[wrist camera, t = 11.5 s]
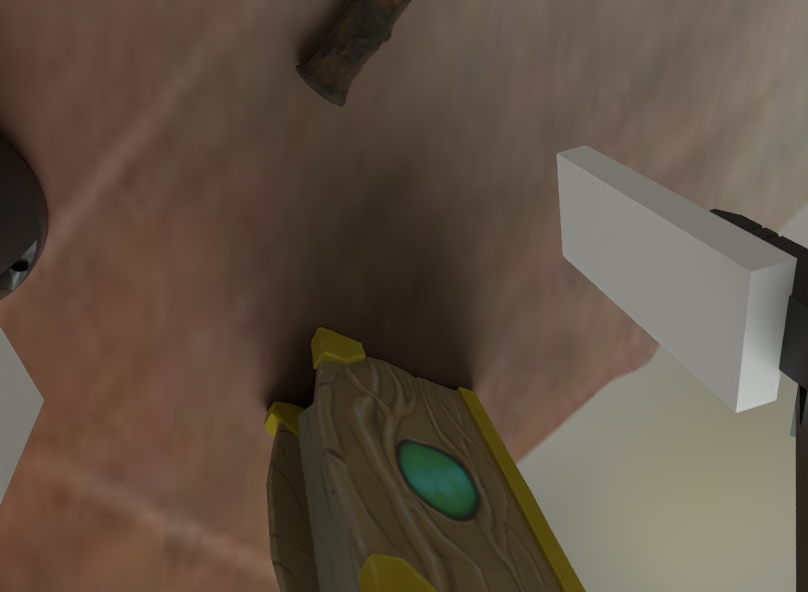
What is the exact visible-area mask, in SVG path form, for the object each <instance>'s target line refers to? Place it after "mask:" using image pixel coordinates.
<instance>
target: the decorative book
mask: <svg viewBox="0 0 808 592" xmlns="http://www.w3.org/2000/svg"><path fill="white" fill-rule="evenodd" d="M311 348H312V355H313V368H314V369H316V370H317V373H316V383H315V393H314V402H313V404H312V405H311V406H309V407H308V408H307V409H304V408H301V407H299V406H296V405H293V404H289V403H283V402H274V403H273V404H272V406H271V407H270V409H269V410H268V412H267V414H266V418H265V422H264V426H263V427H264V428H265V429H266V430H267V431H268V432H269V433H270V434H271V435H272V436H273V437H275V439H274V443H273V448H272V453H271V459H270V465H269V471H268V477H267V483H266V488H267V503H268V518H269V534H270V549H271V559H272V563H273V566H274V570H275V574H276V577H277V581H278V585H279V588H280V592H586V591H585V590H584V588H583V586H582V584H581V582H580V581H579V579H578V577H577V575H576V573H575V572H574V570H573V568H572V566H571V564H570V563H569V561H568V559H567V557H566V556H565V554H564V552H563V550H562V548H561V546H560V545H559V543H558V541H557V539H556V538H555V536H554V534H553V532H552V531H551V529H550V527H549V525H548V523H547V521H546V519H545V517H544V515H543V513H542V511H541V510H540V508H539V506H538V504H537V502H536V500H535V498H534V496H533V494H532V492H531V491H530V489H529V487H528V485H527V484H526V482H525V480H524V479H523V477H522V475H521V474H520V472H519V470H518V468H517V467H516V465H515V463H514V461H513V460H512V458H511V456H510V454H509V452H508V451H507V449H506V447H505V445H504V443H503V442H502V440H501V438H500V436H499V434H498V433H497V431H496V429H495V427H494V426H493V424H492V422H491V420H490V418H489V417H488V415H487V413H486V411H485V410H484V408H483V406H482V404H481V402H480V401H479V399H478V397H477V395H476V394H475V393H474V392H472V391H471V390H468V389H465V388H462V387H458V389H457V390H456V391H455V390H452V389H449V388H446V387H443V386H441V385H438V384H436V383H433V382H430V381H428V380H425V379H423V378H420V377H417V378H414V377H413V376H412V375H410V374H409V373H408V372H407V371H404V370H402V369H400V368H398V367H396V366H394V365H392V364H389V363H387V362H385V361H383V360H379V359H375V358H371V357H367V356H365V352H364V349H363V347H362V344H361V343H360V342H358V341H355V340H353V339H350V338H348V337H345V336H343V335H340V334H338V333H336V332H333V331H331V330H328V329H325V328H323V327H319V328H317V329H316V332H315V334H314V337H313V339H312V341H311Z"/></svg>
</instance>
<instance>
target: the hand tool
mask: <svg viewBox="0 0 808 592" xmlns="http://www.w3.org/2000/svg"><path fill="white" fill-rule="evenodd" d="M410 2H411V0H354V1H353V2H352V4H351V6H350V7H349V8H348V9H347V10H346V11H345V12H344V13H343V15H342V16H341V17H340V19H339V20H338V22H337V24H336V26H335V27H334V28H333V29H332V31H331V32H330V34H329V37H328V38H327V39H326V40H325V42H324V43H323V44H322V46H321V47H320V48H319V50H318V51H317V52H316V53H315V54H314V56H313V57H312V58H311V60H309V61H308V62H307V63H305V64H302V65H297V66H296V69H297V71H298V73H299V74H300V76H301V77H302V78H303V80H304V81H305V82H306V83H307V84H308V85H309V86H310V87H311V88H312V89H313V90H315V91H316V92H317V93H318V94H319V95H321V96H322V97H323V98H324V99H326V100H328V101H330V102H331V103H333V104H336V105H338V106H340V107H342V106H344V104H345V100H346V95H347V93H348V89H349V87H350V85H351V82H352V80H353V79H354V78H355V76H356V75H357V74H358V73H359V71H360V70H361V69H362V67H363V65H364V64H365V63H366V61H367V60H368V59H369V58H370V57H371V56H372V55H373V54H374V53H375V52H376V51H377V50H378V49H379V47H380V45H381V44H383V43H385V42H387V41H388V40H389V38H390V37H391V30H392V27H393V25H394V23H395V21H396V20H397V19H398V18H399V16H400V15H401V13H402V12H403V11H404V9H405V8H406V7H407V6H408V4H409V3H410Z"/></svg>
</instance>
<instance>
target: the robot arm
mask: <svg viewBox="0 0 808 592" xmlns="http://www.w3.org/2000/svg"><path fill="white" fill-rule="evenodd" d="M557 168H558V184H559V201H560V217H561V234H562V250H563V256H564V257H565V258H566V259H567V260H568V261H569V262H571V263H572V264H573V265H574V266H575V267H576V268H577V269H578V270H579V271H580V272H582V273H583V274H584V275H585V276H586V277H587V278H588V279H589V280H590V281H591V282H593V283H594V284H595V285H596V286H597V287H598V288H599V289H600V290H601V291H602V292H604V293H605V294H606V295H607V296H608V297H609V298H610V299H611V300H612V301H613V302H615V303H616V304H617V305H618V306H619V307H620V308H621V309H622V310H623V311H624V312H626V313H627V314H628V315H629V316H630V317H631V318H632V319H633V320H634V321H635V322H637V323H638V324H639V325H640V326H641V327H642V328H643V329H644V330H645V331H646V332H648V333H649V334H650V335H651V336H652V337H653V338H654V339H655V340H656V341H657V342H659V343H660V344H661V345H662V346H663V347H664V348H665V349H666V350H667V351H669V352H670V353H671V354H672V355H673V356H674V357H675V358H676V359H677V360H678V361H680V362H681V363H682V364H683V365H684V366H685V367H686V368H687V369H688V370H689V371H691V372H692V373H693V374H694V375H695V376H696V377H697V378H698V379H699V380H700V381H702V382H703V383H704V384H705V385H706V386H707V387H708V388H709V389H710V390H711V391H713V392H714V393H715V394H716V395H717V396H718V397H719V398H720V399H721V400H723V401H724V402H725V403H726V404H727V405H728V406H729V407H730V408H731V409H732V410H734V411H735V412H736V413H737V412H741V411H743V410H747V409H750V408H753V407H756V406H759V405H762V404H766V403H769V402H771V401H775V400H776V399H777V392H778V385H779V378H780V371H782V372H783V373H785V374H786V375H787V376H788V377H790V378H791V379H792V380H794V381H795V382H797V383H798V390H797V396H796V403H795V408H794V414H793V420H792V427H791V433H790V435H791V436H795V437H796V592H808V249H807V248H804V247H803V246H801V245H799V244H797V243H795V242H793V241H791V240H789V239H787V238H785V237H783V236H781V237H779V236H778V234H777V233H776V232H774V231H772V230H770V229H768V228H762V225H760V224H758V223H756V222H754V221H752V220H750V219H748V218H746V217H744V216H742V215H739V214H734V213H730V212H726V211H722V210H718V209H713V210H709V211H708V210H706V209H704V208H702V207H700V206H698V205H697V204H695V203H693V202H691V201H689V200H687V199H685V198H684V197H682V196H680V195H678V194H676V193H674V192H672V191H670V190H669V189H667V188H665V187H663V186H661V185H659V184H657V183H656V182H654V181H652V180H650V179H648V178H646V177H644V176H643V175H641V174H639V173H637V172H635V171H633V170H631V169H630V168H628V167H626V166H624V165H622V164H620V163H618V162H617V161H615V160H613V159H611V158H609V157H607V156H605V155H603V154H602V153H600V152H598V151H596V150H594V149H592V148H590V147H589V146H587V145H586V146H582V147H578V148H574V149H570V150H567V151H563V152H559V153H557ZM47 233H48V213H47V207H46V202H45V199H44V196H43V193H42V190H41V188H40V185H39V183H38V181H37V179H36V178H35V176H34V174H33V173H32V171H31V169H30V168H29V166H28V165H27V164H26V162H25V161H24V160H23V159H22V157H21V156H20V155H19V154H18V153H17V152H16V151H15V150H14V149H13V148H12V147H11V146H10V145H9V144H8V143H7V142H6V141H5V140H3V139H2V138H1V137H0V300H1V299H3V298H4V297H6V296H7V295H9V294H10V293H11V292H13V291H14V290H15V289H16V288H17V287H18V286H19V285H20V284H21V283H22V282H23V281H24V280H25V279H26V278H27V276H28V275H29V274H30V272H31V271H32V269H33V267H34V266H35V264H36V263H37V261H38V259H39V258H40V256H41V254H42V252H43V249H44V246H45V243H46V239H47ZM43 402H44V400H43V398H42V396H41V395H40V393H39V391H38V390H37V388H36V386H35V384H34V383H33V381H32V379H31V378H30V376H29V374H28V373H27V371H26V369H25V368H24V366H23V364H22V363H21V361H20V359H19V358H18V356H17V354H16V352H15V351H14V349H13V347H12V346H11V344H10V342H9V341H8V339H7V337H6V336H5V334H4V332H3V331H2V329H1V327H0V504H1V501H2V499H3V497H4V494H5V492H6V489H7V487H8V485H9V482H10V480H11V478H12V475H13V473H14V470H15V468H16V466H17V463H18V461H19V459H20V456H21V454H22V451H23V449H24V447H25V444H26V442H27V440H28V437H29V435H30V432H31V430H32V428H33V425H34V423H35V421H36V418H37V416H38V413H39V411H40V409H41V406H42V404H43Z"/></svg>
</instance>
